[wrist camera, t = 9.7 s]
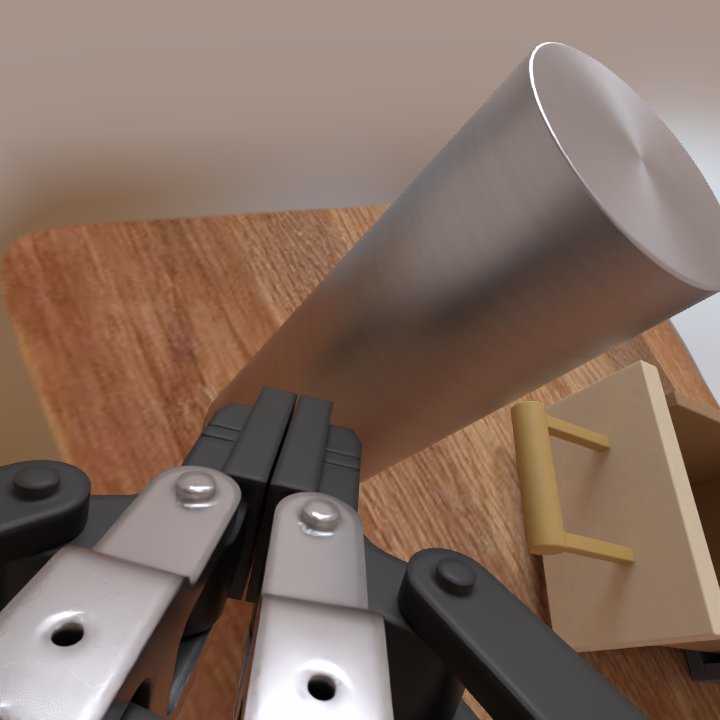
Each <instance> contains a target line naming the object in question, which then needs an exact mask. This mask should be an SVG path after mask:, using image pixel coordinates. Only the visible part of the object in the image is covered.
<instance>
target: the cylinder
mask: <svg viewBox="0 0 720 720" xmlns="http://www.w3.org/2000/svg"><path fill="white" fill-rule="evenodd" d="M718 292H720V205H719V203H718V201H717V200H716V197H715V196H714V194H713V192H712V190H711V188H710V187H709V185H708V183H707V182H706V180H705V178H704V177H703V175H702V173H701V172H700V170H699V169H698V167H697V166H696V164H695V163H694V161H693V160H692V158H691V157H690V156H689V154H688V153H687V151H686V150H685V149H684V147H683V146H682V145H681V143H680V142H679V141H678V139H677V138H676V137H675V136H674V134H673V133H672V132H671V131H670V129H669V128H668V127H667V126H666V125H665V123H664V122H663V121H662V120H661V119H660V118H659V117H658V115H657V114H656V113H655V112H654V111H653V110H652V109H651V108H650V107H649V106H648V105H647V104H646V102H644V100H642V99H641V97H639V96H638V95H637V94H636V93H635V92H634V91H633V90H632V89H631V88H630V87H629V86H628V85H627V84H626V83H625V82H623V81H622V80H621V79H620V78H619V77H618V76H616V75H615V74H614V73H613V72H611V71H610V70H609V69H607V68H606V67H605V66H603V65H602V64H600V63H599V62H598V61H596V60H594V59H593V58H591V57H590V56H588V55H586V54H584V53H583V52H580V51H579V50H577V49H574V48H572V47H570V46H567V45H564V44H560V43H554V42H553V43H552V42H548V43H543V44H541V45H539V46H537V47H536V48H534V49H533V50H532V51H531V52H530V53H529V55H527V57H526V58H525V59H524V60H523V61H522V62H521V63H520V64H519V65H518V67H517V68H516V69H515V70H514V71H513V72H512V73H511V74H510V75H509V76H508V78H507V79H506V80H505V81H504V82H503V83H502V84H501V85H500V86H499V88H497V90H496V91H495V92H494V93H493V94H492V95H491V96H490V97H489V98H488V99H487V101H486V102H485V103H484V104H483V105H482V106H481V107H480V108H479V109H478V111H477V112H476V113H475V114H474V115H473V116H472V117H471V118H470V119H469V120H468V121H467V123H466V124H465V125H464V126H463V127H462V128H461V129H460V130H459V131H458V133H457V134H456V135H455V136H454V137H453V138H452V139H451V140H450V141H449V142H448V143H447V145H446V146H445V147H444V148H443V149H442V150H441V151H440V152H439V153H438V155H437V156H436V157H435V158H434V159H433V160H432V161H431V162H430V163H429V164H428V165H427V167H426V168H425V169H424V170H423V171H422V172H421V173H420V174H419V175H418V176H417V178H416V179H415V180H414V181H413V182H412V183H411V184H410V185H409V186H408V187H407V189H406V190H405V191H404V192H403V193H402V194H401V195H400V196H399V197H398V198H397V200H396V201H395V202H394V203H393V204H392V205H391V206H390V207H389V208H388V209H387V211H386V212H385V213H384V214H383V215H382V216H381V217H380V218H379V219H378V220H377V222H376V223H375V224H374V225H373V226H372V227H371V228H370V229H369V230H368V231H367V233H366V234H365V235H364V236H363V237H362V238H361V239H360V240H359V241H358V242H357V244H356V245H355V246H354V247H353V248H352V249H351V250H350V251H349V252H348V253H347V255H346V256H345V257H344V258H343V259H342V260H341V261H340V262H339V263H338V264H337V266H336V267H335V268H334V269H333V270H332V271H331V272H330V273H329V274H328V275H327V277H326V278H325V279H324V280H323V281H322V282H321V283H320V284H319V285H318V286H317V288H316V289H315V290H314V291H313V292H312V293H311V294H310V295H309V296H308V297H307V298H306V300H305V301H304V302H303V303H302V304H301V305H300V306H299V307H298V308H297V309H296V311H295V312H294V313H293V314H292V315H291V316H290V317H289V318H288V319H287V320H286V322H285V323H284V324H283V325H282V326H281V327H280V328H279V329H278V330H277V331H276V333H275V334H274V335H273V336H272V337H271V338H270V339H269V340H268V341H267V342H266V344H265V345H264V346H263V347H262V348H261V349H260V350H259V351H258V352H257V353H256V355H255V356H254V357H253V358H252V359H251V360H250V361H249V362H248V363H247V364H246V366H245V367H244V368H243V369H242V370H241V371H240V372H239V373H238V374H237V375H236V377H235V378H234V379H233V380H232V381H231V382H230V383H229V384H228V385H227V386H226V388H225V389H224V390H223V391H222V392H221V393H220V394H219V395H218V397H217V398H216V399H215V400H214V402H213V404H212V405H211V407H210V409H209V411H208V414H207V416H206V420H205V424H204V429H205V427H206V426H208V423H209V421H210V419H211V418H212V416H213V415H214V413H215V412H216V410H218V409H220V408H222V407H224V406H226V405H228V404H230V403H232V402H234V403H238V404H243V405H247V406H251V407H253V406H254V404H255V402H256V400H257V398H258V396H259V394H260V392H261V390H262V388H263V386H266V387H271V388H275V389H279V390H284V391H288V392H292V393H297V400H296V405H297V402H298V399H299V396H300V394H301V395H306V396H310V397H314V398H319V399H323V400H327V401H331V402H334V403H333V408H332V413H331V418H330V425H334V426H338V427H343V428H347V429H351V430H353V431H354V432H355V434H356V435H357V437H358V438H359V440H360V442H361V443H362V452H361V467H360V482H359V483H361V482H363V481H365V480H367V479H369V478H371V477H372V476H374V475H376V474H378V473H380V472H382V471H384V470H386V469H387V468H389V467H391V466H393V465H395V464H397V463H399V462H401V461H402V460H404V459H406V458H408V457H410V456H412V455H414V454H416V453H417V452H419V451H421V450H423V449H425V448H427V447H429V446H431V445H432V444H434V443H436V442H438V441H440V440H442V439H444V438H446V437H447V436H449V435H451V434H453V433H455V432H457V431H459V430H461V429H462V428H464V427H466V426H468V425H470V424H472V423H474V422H476V421H478V420H479V419H481V418H483V417H485V416H487V415H489V414H491V413H493V412H494V411H496V410H498V409H500V408H502V407H504V406H506V405H508V404H509V403H511V402H513V401H515V400H517V399H519V398H521V397H523V396H524V395H526V394H528V393H530V392H532V391H534V390H536V389H538V388H539V387H541V386H543V385H545V384H547V383H549V382H551V381H553V380H554V379H556V378H558V377H560V376H562V375H564V374H566V373H568V372H569V371H571V370H573V369H575V368H577V367H579V366H581V365H583V364H584V363H586V362H588V361H590V360H592V359H594V358H596V357H598V356H599V355H601V354H603V353H605V352H607V351H609V350H611V349H613V348H614V347H616V346H618V345H620V344H622V343H624V342H626V341H628V340H629V339H631V338H633V337H635V336H637V335H639V334H641V333H643V332H644V331H646V330H648V329H650V328H652V327H654V326H656V325H658V324H660V323H661V322H663V321H665V320H667V319H669V318H671V317H672V316H675V315H676V314H678V313H680V312H682V311H684V310H686V309H687V308H690V307H691V306H693V305H695V304H697V303H699V302H701V301H702V300H705V299H706V298H708V297H710V296H712V295H714V294H716V293H718ZM296 405H295V408H296ZM294 411H295V410H294Z"/></svg>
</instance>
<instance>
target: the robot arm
mask: <svg viewBox="0 0 720 720" xmlns="http://www.w3.org/2000/svg"><path fill="white" fill-rule="evenodd" d="M296 400H297V393H292V392H288V391H284V390H279V389H275V388H271V387H266V386H263V388H262V390H261V392H260V394H259V396H258V398H257V400H256V402H255V404H254V406H253V407H251V406H247V405H243V404H238V403H234V402H232V403H230V404H228V405H226V406H224V407H222V408H220V409H218V410H216V412H215V413H214V415H213V416H212V418H211V419H210V421H209V423H208V426H206V427H205V429H204V430H203V432H202V434H201V436H200V437H199V438H198V440H197V442H196V443H195V445H194V446H193V448H192V449H191V451H190V453H189V454H188V456H187V457H186V459H185V460H184V462H183V464H182V465H181V466H180V467H174V468H171V469H167V470H165V471H163V472H161V473H159V474H158V475H156V476H155V477H154V478H153V479H152V480H151V481H150V482H149V484H148V485H147V486H146V487H145V488H144V489H143V491H142V492H141V493H140V494H133V495H90V491H91V482H90V480H89V477H88V476H87V475H86V474H85V473H84V472H83V471H82V470H80V469H79V468H77V467H75V466H72V465H70V464H67V463H63V462H58V461H50V460H33V461H23V462H18V463H14V464H10V465H6V466H1V467H0V720H176V719H177V717H178V714H179V712H180V710H181V708H182V706H183V703H184V701H185V699H186V697H187V694H188V692H189V690H190V688H191V686H192V683H193V681H194V679H195V677H196V674H197V672H198V670H199V668H200V665H201V663H202V661H203V659H204V657H205V654H206V652H207V650H208V648H209V645H210V643H211V641H212V639H213V636H214V632H215V627H216V622H217V620H218V619H219V617H220V616H221V614H222V611H223V609H224V606H225V603H226V600H227V597H228V598H233V599H237V600H241V599H242V596H243V593H244V590H245V587H246V583H247V580H248V577H249V574H250V571H251V567H252V564H253V567H252V572H251V576H250V581H249V586H248V590H247V595H246V600H245V601H248V602H252V603H254V608H253V613H252V617H251V622H250V626H249V630H248V635H247V640H246V644H245V649H244V655H243V660H242V666H241V671H240V677H239V683H238V688H237V694H236V699H235V705H234V710H233V716H232V720H480V719H479V718H478V717H477V716H476V715H475V713H474V712H473V711H472V710H471V709H470V707H469V706H468V705H467V704H466V703H465V702H464V700H463V699H462V698H461V697H462V695H463V692H464V690H465V688H466V689H467V690H468V691H469V692H470V693H471V694H472V695H473V697H474V698H475V699H476V700H477V701H478V702H479V704H480V705H481V706H482V707H483V708H484V709H485V710H486V712H487V713H488V714H489V715H490V716H491V717H492V719H493V720H650V719H649V718H648V717H647V716H646V715H645V714H644V713H642V712H641V711H640V710H639V709H638V708H637V707H636V706H635V705H634V704H633V703H632V702H630V701H629V700H628V699H627V698H626V697H625V696H624V695H623V694H622V693H621V692H620V691H618V690H617V689H616V688H615V687H614V686H613V685H612V684H611V683H610V682H609V681H608V680H606V679H605V678H604V677H603V676H602V675H601V674H600V673H599V672H598V671H597V670H595V669H594V668H593V667H592V666H591V665H590V664H589V663H588V662H587V661H586V660H585V659H583V658H582V657H581V656H580V655H579V654H578V653H577V652H576V651H575V650H574V649H573V648H571V647H570V646H569V645H568V644H567V643H566V642H565V641H564V640H563V639H562V638H561V637H559V636H558V635H557V634H556V633H555V632H554V631H553V630H552V629H551V628H550V627H548V626H547V625H546V624H545V623H544V622H543V621H542V620H541V619H540V618H539V617H538V616H536V615H535V614H534V613H533V612H532V611H531V610H530V609H529V608H528V607H527V606H526V605H524V604H523V603H522V602H521V601H520V600H519V599H518V598H517V597H516V596H515V595H514V594H512V593H511V592H510V591H509V590H508V589H507V588H506V587H505V586H504V585H503V584H501V583H500V582H499V581H498V580H497V579H496V578H495V577H494V576H493V575H492V574H491V573H489V572H488V571H487V570H486V569H485V568H484V567H483V566H481V565H480V564H479V563H477V562H476V561H474V560H473V559H471V558H469V557H467V556H466V555H463V554H461V553H458V552H455V551H452V550H448V549H443V548H428V549H424V550H421V551H419V552H417V553H415V554H414V555H413V556H412V557H411V558H410V560H409V562H408V563H407V562H405V561H403V560H401V559H398V558H396V557H394V556H392V555H390V554H388V553H386V552H384V551H383V550H381V549H380V548H378V547H377V546H375V545H374V544H373V543H372V542H370V541H369V539H368V538H367V537H366V536H365V535H364V534H363V525H362V520H361V518H360V516H359V515H358V513H357V511H358V496H359V482H360V467H361V452H362V443H361V442H360V440H359V438H358V437H357V435H356V434H355V432H354V431H353V430H351V429H347V428H343V427H338V426H334V425H330V418H331V413H332V408H333V403H334V402H331V401H327V400H323V399H319V398H314V397H310V396H306V395H301V394H300V396H299V399H298V402H297V405H296ZM295 405H296V408H295ZM294 410H295V411H294ZM253 561H254V562H253Z"/></svg>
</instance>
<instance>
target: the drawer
mask: <svg viewBox="0 0 720 720" xmlns="http://www.w3.org/2000/svg"><path fill="white" fill-rule="evenodd" d="M511 417H512V425H513V433H514V441H515V449H516V457H517V465H518V473H519V480H520V488H521V496H522V504H523V512H524V520H525V528H526V536H527V544H528V550H529V552H530V553H532V554H535V555H542V557H543V565H544V572H545V579H546V586H547V594H548V601H549V608H550V615H551V623H552V630H553V631H554V632H555V633H556V634H557V635H558V636H559V637H561V638H562V639H563V640H564V641H565V642H566V643H567V644H568V645H569V646H570V647H571V648H573V649H574V650H575V651H576V652H587V651H598V650H609V649H620V648H631V647H642V646H653V645H657V646H665V647H672V648H680V649H688V650H695V651H703V652H711V653H719V654H720V411H719V410H717V409H715V408H712V407H710V406H708V405H706V404H703V403H701V402H699V401H697V400H694V399H692V398H690V397H688V396H686V395H683V394H681V393H679V392H677V391H672V392H670V393H667V394H665V395H664V392H663V388H662V385H661V381H660V378H659V374H658V371H657V368H656V367H654V366H652V365H650V364H648V363H646V362H644V361H642V360H641V361H638V362H636V363H634V364H632V365H630V366H628V367H626V368H624V369H622V370H620V371H618V372H616V373H614V374H612V375H610V376H608V377H606V378H604V379H602V380H600V381H598V382H596V383H594V384H592V385H590V386H588V387H585V388H583V389H581V390H579V391H577V392H575V393H573V394H571V395H569V396H567V397H565V398H563V399H561V400H559V401H557V402H555V403H553V404H551V405H549V406H547V407H544V405H543V404H542V403H540V402H537V401H524V402H520V403H517V404H515V405H514V406H513V407H512V408H511Z"/></svg>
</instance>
